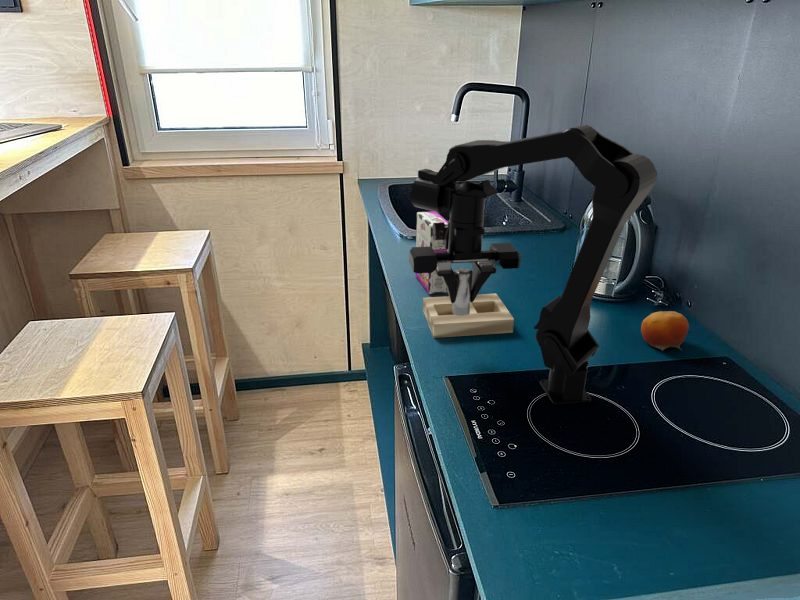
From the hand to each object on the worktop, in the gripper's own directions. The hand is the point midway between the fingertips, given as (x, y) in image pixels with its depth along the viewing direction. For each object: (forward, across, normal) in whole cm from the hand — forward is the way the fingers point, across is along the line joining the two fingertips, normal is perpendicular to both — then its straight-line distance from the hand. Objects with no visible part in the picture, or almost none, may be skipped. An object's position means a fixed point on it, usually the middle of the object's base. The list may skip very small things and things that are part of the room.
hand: (461, 301), depth 101 cm
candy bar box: (+10, -1, -30) cm, 32 cm away
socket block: (+10, -4, -11) cm, 15 cm away
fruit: (+10, -39, +3) cm, 41 cm away
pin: (+2, 0, 0) cm, 2 cm away
